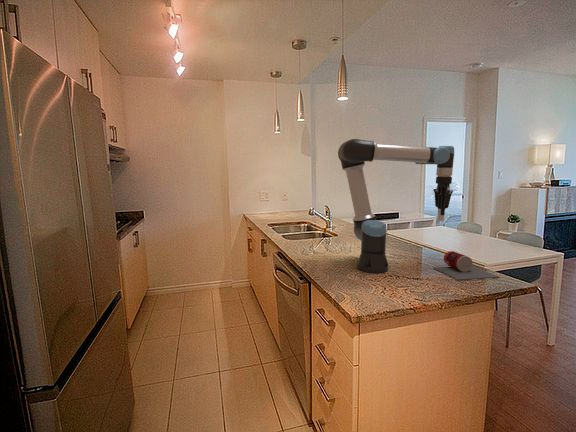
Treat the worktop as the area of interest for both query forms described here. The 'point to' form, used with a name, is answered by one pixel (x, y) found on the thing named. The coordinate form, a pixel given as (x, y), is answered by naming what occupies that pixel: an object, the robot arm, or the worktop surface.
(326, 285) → the worktop surface
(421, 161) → the robot arm
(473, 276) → the rubber mat
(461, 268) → the canned food
